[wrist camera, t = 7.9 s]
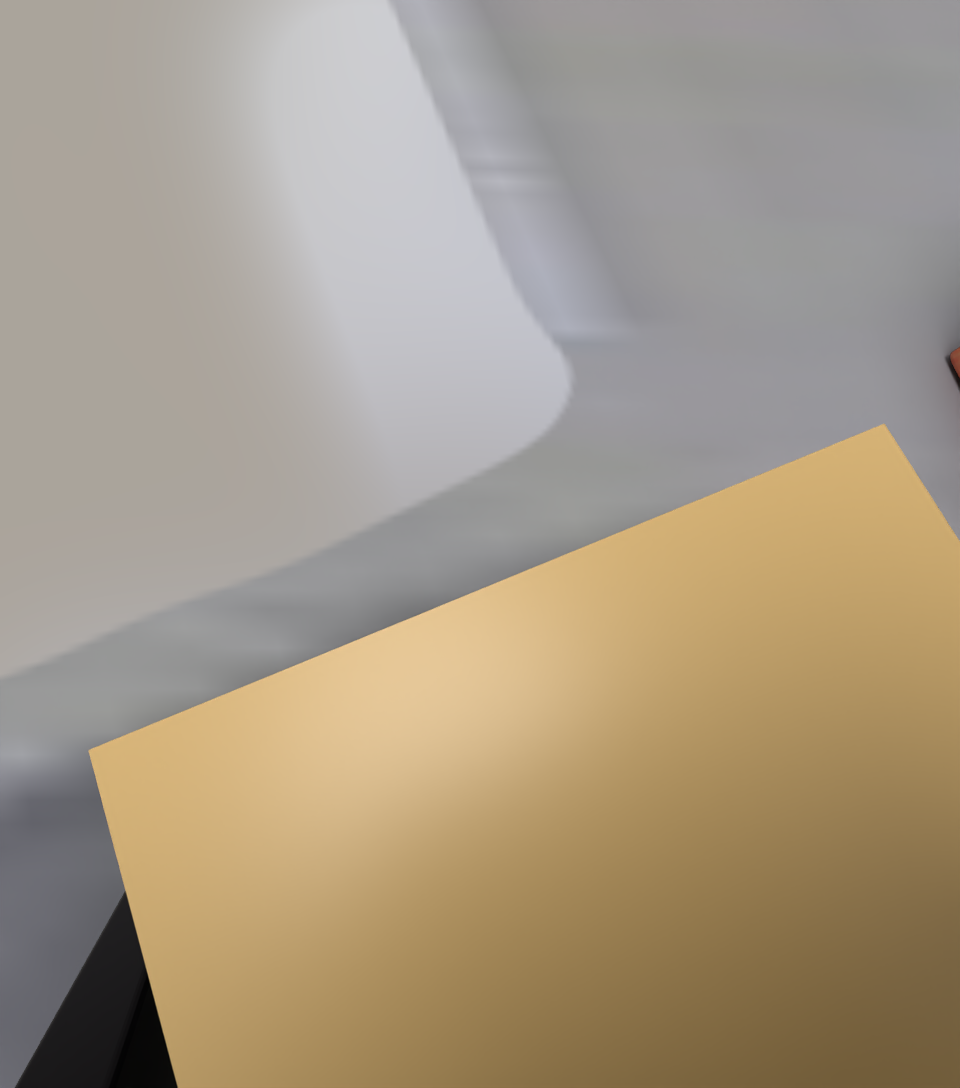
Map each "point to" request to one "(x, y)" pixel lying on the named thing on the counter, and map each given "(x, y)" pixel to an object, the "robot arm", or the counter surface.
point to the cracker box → (956, 360)
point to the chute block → (585, 818)
